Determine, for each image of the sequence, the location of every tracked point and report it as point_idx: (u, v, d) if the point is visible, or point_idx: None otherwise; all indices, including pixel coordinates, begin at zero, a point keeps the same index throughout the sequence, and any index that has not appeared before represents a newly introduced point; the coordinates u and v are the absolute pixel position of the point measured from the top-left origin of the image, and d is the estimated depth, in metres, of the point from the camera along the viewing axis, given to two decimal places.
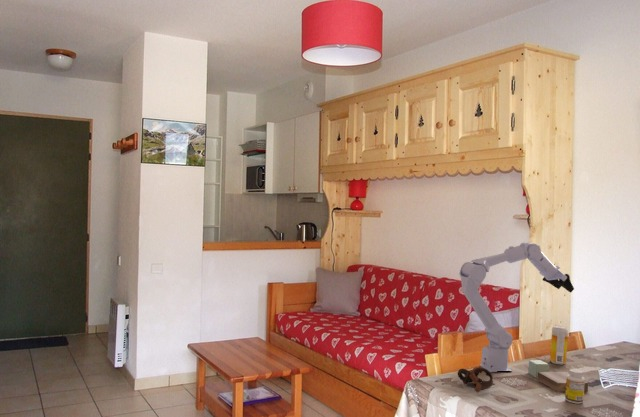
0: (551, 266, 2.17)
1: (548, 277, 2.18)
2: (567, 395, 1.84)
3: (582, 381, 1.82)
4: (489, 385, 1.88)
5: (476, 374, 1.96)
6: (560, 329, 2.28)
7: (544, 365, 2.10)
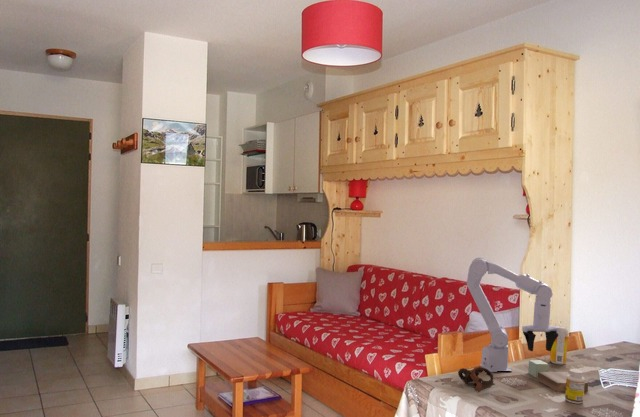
0: (536, 318, 2.10)
1: None
2: (567, 395, 1.84)
3: (582, 381, 1.82)
4: (489, 385, 1.89)
5: (476, 374, 1.96)
6: (560, 329, 2.28)
7: (544, 365, 2.10)
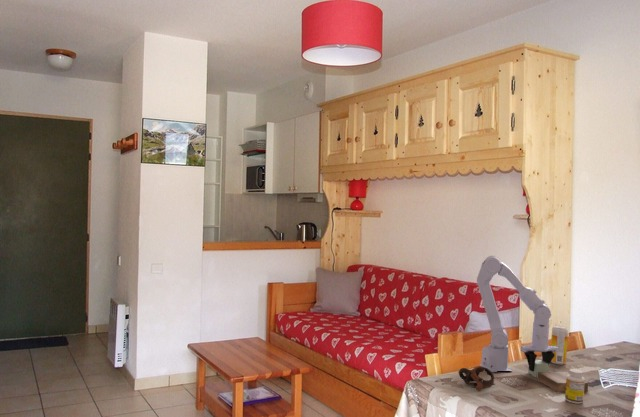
0: (535, 338, 2.10)
1: None
2: (567, 395, 1.84)
3: (582, 381, 1.82)
4: (490, 384, 1.89)
5: (477, 373, 1.97)
6: (560, 329, 2.28)
7: (544, 365, 2.10)
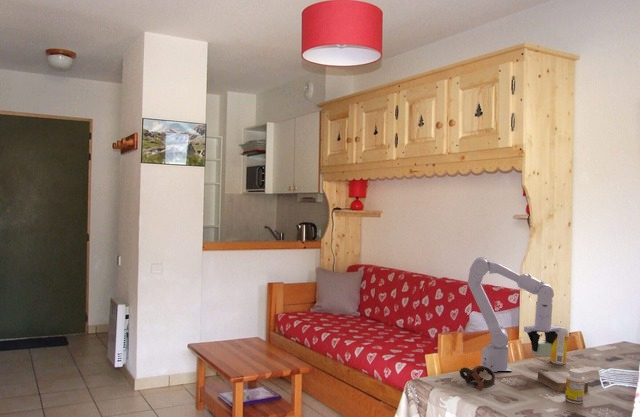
0: (538, 318, 2.09)
1: None
2: (567, 395, 1.84)
3: (582, 381, 1.82)
4: (491, 383, 1.90)
5: (478, 373, 1.98)
6: None
7: (547, 345, 2.09)
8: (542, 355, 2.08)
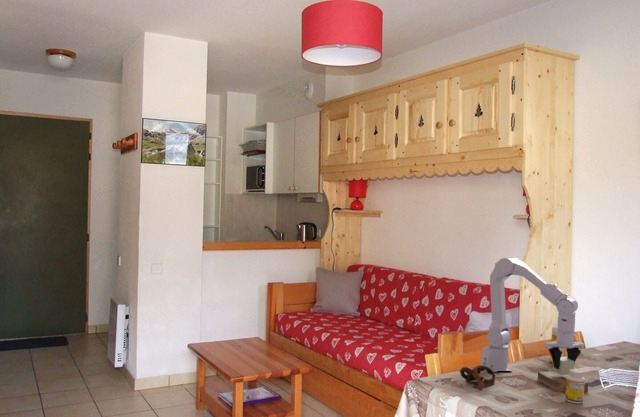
0: (560, 334, 1.99)
1: None
2: (567, 395, 1.84)
3: (582, 381, 1.82)
4: (492, 383, 1.91)
5: (478, 372, 1.98)
6: None
7: (570, 362, 1.98)
8: (564, 373, 1.98)
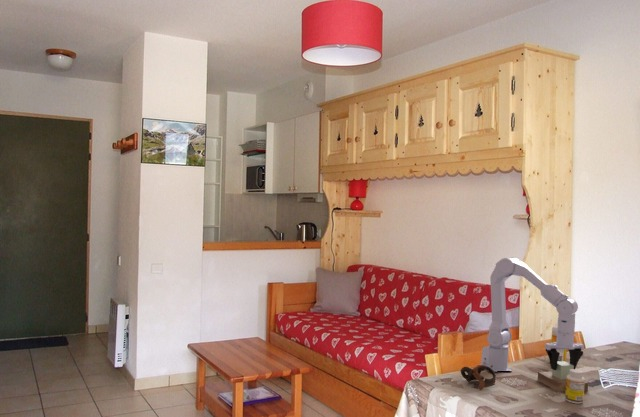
0: (560, 335, 1.99)
1: None
2: (567, 395, 1.84)
3: (582, 381, 1.82)
4: (492, 383, 1.91)
5: (478, 372, 1.99)
6: None
7: (569, 367, 1.98)
8: (564, 377, 1.98)
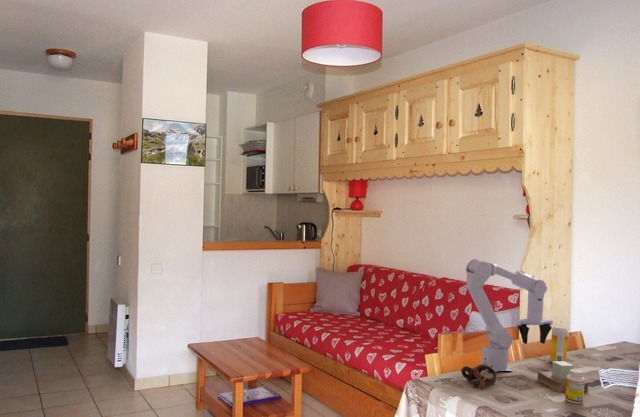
0: (530, 311, 2.17)
1: None
2: (567, 395, 1.84)
3: (582, 381, 1.82)
4: (493, 382, 1.92)
5: (479, 371, 1.99)
6: (560, 329, 2.28)
7: (569, 367, 1.98)
8: (564, 377, 1.98)
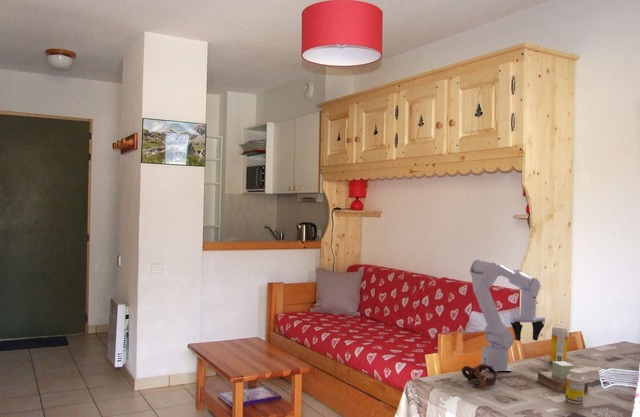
0: (523, 309, 2.21)
1: None
2: (567, 395, 1.84)
3: (582, 381, 1.82)
4: (493, 382, 1.92)
5: (479, 371, 2.00)
6: (560, 329, 2.28)
7: (569, 367, 1.98)
8: (564, 377, 1.98)
